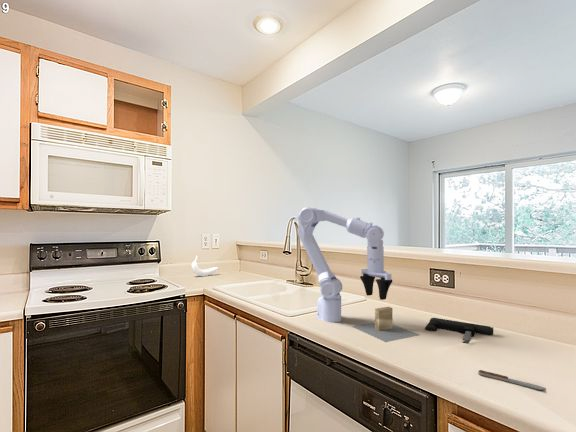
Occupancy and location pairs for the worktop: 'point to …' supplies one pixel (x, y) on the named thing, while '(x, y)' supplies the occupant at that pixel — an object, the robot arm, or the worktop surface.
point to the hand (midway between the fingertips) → (375, 297)
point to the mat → (385, 332)
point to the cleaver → (505, 379)
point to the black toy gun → (459, 328)
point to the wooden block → (383, 318)
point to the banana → (200, 271)
